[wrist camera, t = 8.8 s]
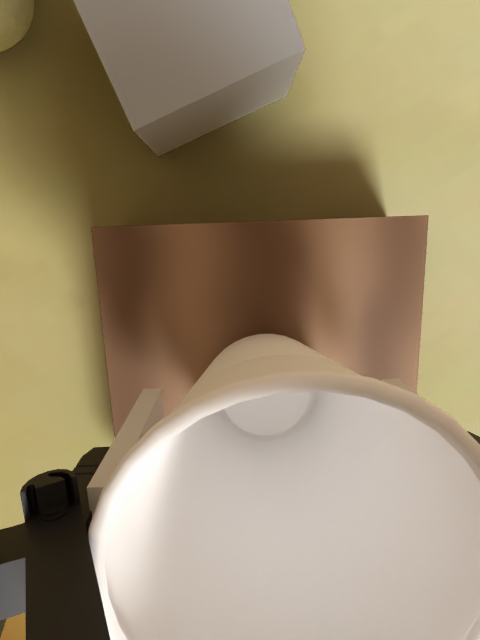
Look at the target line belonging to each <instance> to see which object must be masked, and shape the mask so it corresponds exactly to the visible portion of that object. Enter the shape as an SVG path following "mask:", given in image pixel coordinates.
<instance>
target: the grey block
mask: <svg viewBox="0 0 480 640" xmlns="http://www.w3.org/2000/svg"><path fill="white" fill-rule="evenodd" d="M73 1H74V3H75V6H76V8H77V10H78V12H79V14H80V16H81V19H82V21H83V23H84V25H85V27H86V30H87V32H88V34H89V36H90V38H91V40H92V43H93V45H94V47H95V49H96V51H97V53H98V56H99V58H100V60H101V62H102V64H103V66H104V69H105V71H106V73H107V75H108V77H109V79H110V82H111V84H112V86H113V88H114V90H115V92H116V95H117V97H118V99H119V101H120V103H121V105H122V108H123V110H124V112H125V114H126V116H127V118H128V121H129V123H130V125H131V127H132V129H133V131H134V132H135V133H136V134H137V135H138V136H139V137H140V138H141V139H142V140H143V142H144V143H145V144H146V145H147V146H148V147H149V148H150V149H151V150H152V151H153V152H154V153H155V154H156V155H157V156H160V155H163V154H165V153H167V152H169V151H171V150H173V149H175V148H177V147H180V146H182V145H184V144H186V143H188V142H190V141H192V140H194V139H197V138H199V137H201V136H203V135H205V134H207V133H209V132H211V131H214V130H216V129H218V128H220V127H222V126H224V125H226V124H228V123H231V122H233V121H235V120H237V119H239V118H241V117H243V116H245V115H248V114H250V113H252V112H254V111H256V110H258V109H260V108H263V107H265V106H267V105H269V104H271V103H273V102H275V101H277V100H280V99H282V98H284V97H286V96H287V94H288V91H289V89H290V86H291V84H292V81H293V79H294V76H295V74H296V71H297V69H298V66H299V64H300V61H301V59H302V56H303V54H304V51H305V49H306V48H305V46H304V43H303V40H302V37H301V34H300V32H299V29H298V26H297V23H296V20H295V17H294V15H293V12H292V9H291V6H290V3H289V0H73Z"/></svg>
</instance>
